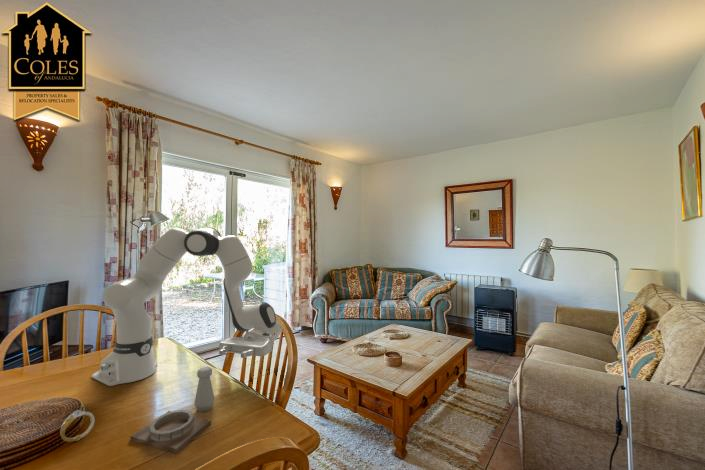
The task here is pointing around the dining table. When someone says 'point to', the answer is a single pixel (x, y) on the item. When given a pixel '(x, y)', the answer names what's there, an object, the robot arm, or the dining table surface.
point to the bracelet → (68, 422)
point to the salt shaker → (204, 390)
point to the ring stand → (171, 431)
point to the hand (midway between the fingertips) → (231, 354)
